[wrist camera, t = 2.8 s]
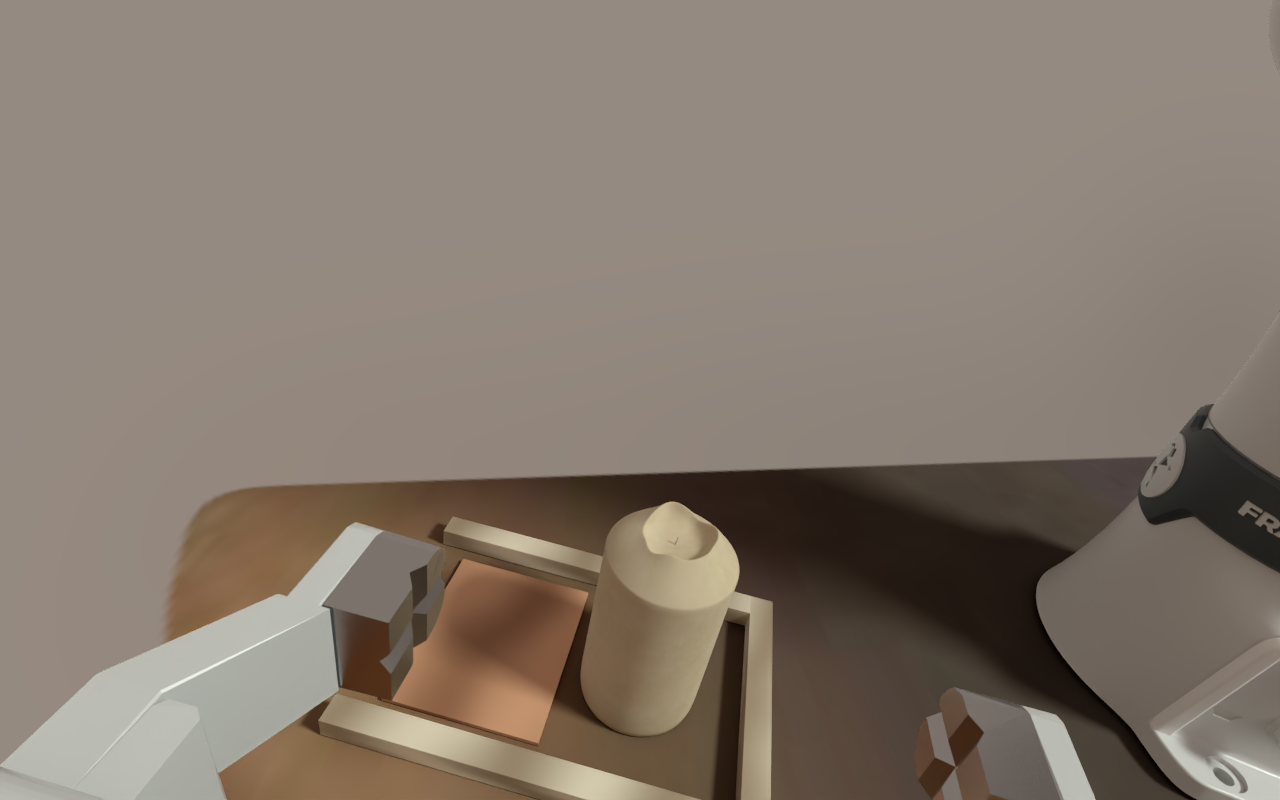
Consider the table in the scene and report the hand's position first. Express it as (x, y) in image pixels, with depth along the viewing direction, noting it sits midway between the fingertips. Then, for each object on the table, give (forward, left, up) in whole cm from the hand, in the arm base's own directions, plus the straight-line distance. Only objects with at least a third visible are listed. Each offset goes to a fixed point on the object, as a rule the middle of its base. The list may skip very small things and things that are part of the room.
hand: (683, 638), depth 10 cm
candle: (+4, -11, -19) cm, 22 cm away
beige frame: (+7, -10, -19) cm, 23 cm away
